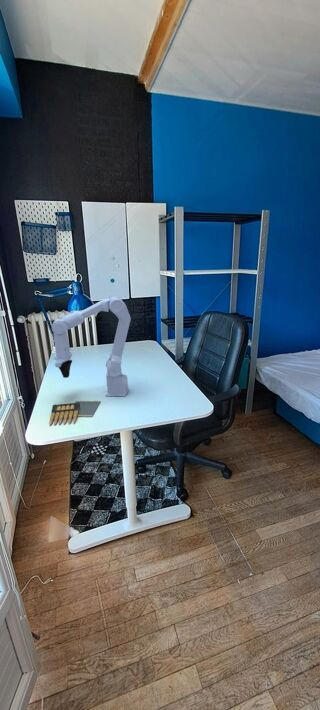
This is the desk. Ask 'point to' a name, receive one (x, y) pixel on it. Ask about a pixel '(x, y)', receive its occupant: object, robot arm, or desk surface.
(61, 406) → the ammunition clip
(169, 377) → the desk surface
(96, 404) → the mat
